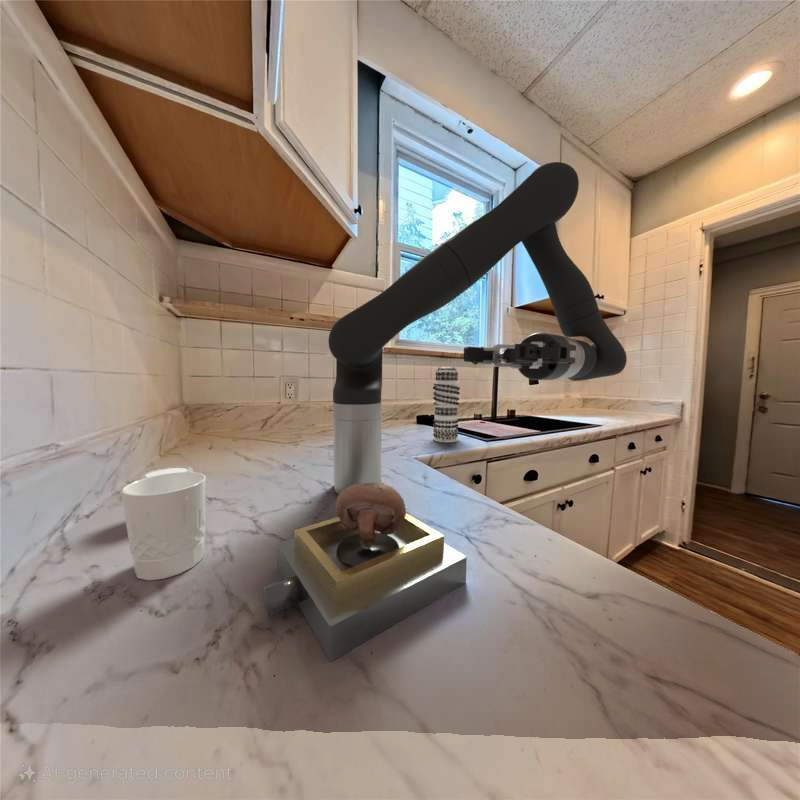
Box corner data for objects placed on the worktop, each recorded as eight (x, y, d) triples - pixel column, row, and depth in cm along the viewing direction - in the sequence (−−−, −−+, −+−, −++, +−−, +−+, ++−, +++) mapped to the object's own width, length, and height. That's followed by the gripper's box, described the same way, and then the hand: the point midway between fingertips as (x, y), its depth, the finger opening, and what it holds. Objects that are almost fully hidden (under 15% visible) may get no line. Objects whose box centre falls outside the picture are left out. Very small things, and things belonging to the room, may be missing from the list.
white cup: (164, 544, 42) (160, 471, 41) (222, 545, 41) (219, 472, 41) (108, 584, 34) (101, 494, 33) (179, 586, 34) (173, 496, 33)
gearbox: (245, 568, 37) (244, 527, 36) (381, 522, 48) (381, 491, 48) (292, 684, 23) (290, 621, 23) (465, 582, 34) (467, 539, 34)
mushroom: (325, 552, 34) (324, 481, 34) (358, 528, 40) (358, 467, 39) (383, 574, 31) (384, 495, 30) (411, 544, 36) (412, 477, 35)
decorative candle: (426, 439, 108) (427, 366, 105) (441, 435, 115) (442, 367, 112) (449, 443, 102) (451, 366, 100) (463, 439, 109) (465, 367, 107)
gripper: (513, 338, 58) (451, 330, 48) (599, 330, 46) (540, 318, 37) (511, 379, 58) (450, 379, 49) (595, 381, 47) (537, 382, 37)
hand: (489, 352), depth 43 cm, fingers open, 8 cm apart
